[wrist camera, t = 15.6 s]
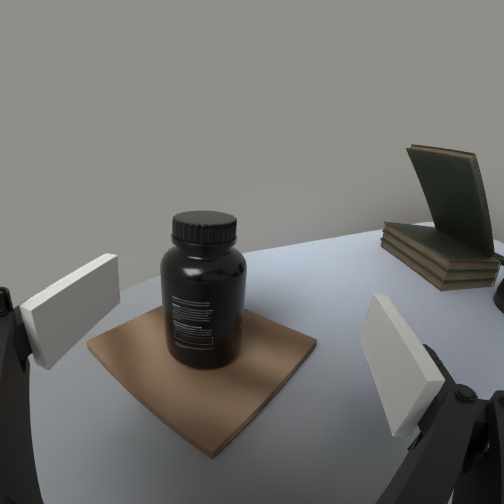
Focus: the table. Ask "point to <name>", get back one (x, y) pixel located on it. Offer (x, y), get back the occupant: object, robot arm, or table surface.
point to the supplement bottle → (203, 290)
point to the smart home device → (499, 258)
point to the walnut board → (202, 376)
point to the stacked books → (448, 223)
